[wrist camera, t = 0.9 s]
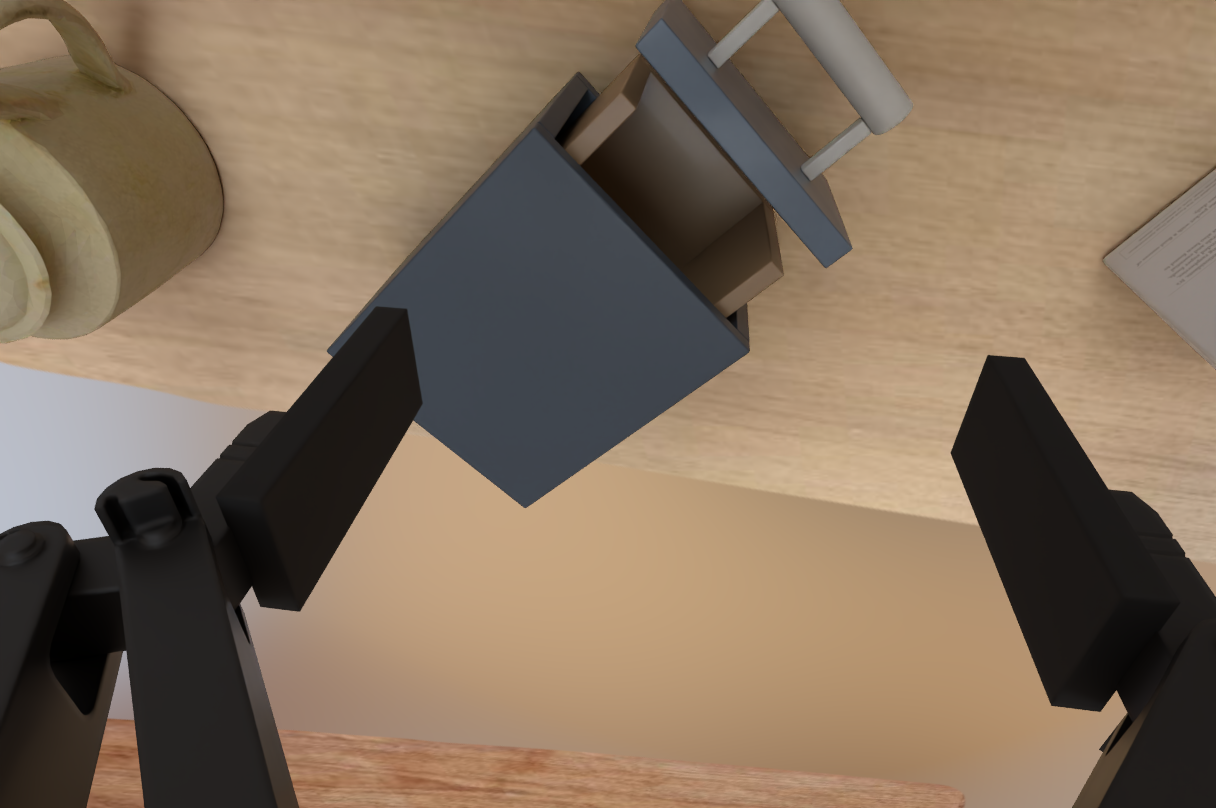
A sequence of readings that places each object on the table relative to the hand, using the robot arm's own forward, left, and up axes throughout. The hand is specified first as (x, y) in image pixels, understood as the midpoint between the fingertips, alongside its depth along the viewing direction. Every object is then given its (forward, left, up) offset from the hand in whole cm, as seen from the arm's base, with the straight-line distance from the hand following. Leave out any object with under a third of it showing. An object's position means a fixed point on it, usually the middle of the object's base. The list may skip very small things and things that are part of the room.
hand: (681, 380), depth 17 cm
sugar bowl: (+15, -25, -20) cm, 36 cm away
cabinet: (+8, -2, -20) cm, 22 cm away
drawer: (+1, 0, -19) cm, 19 cm away
